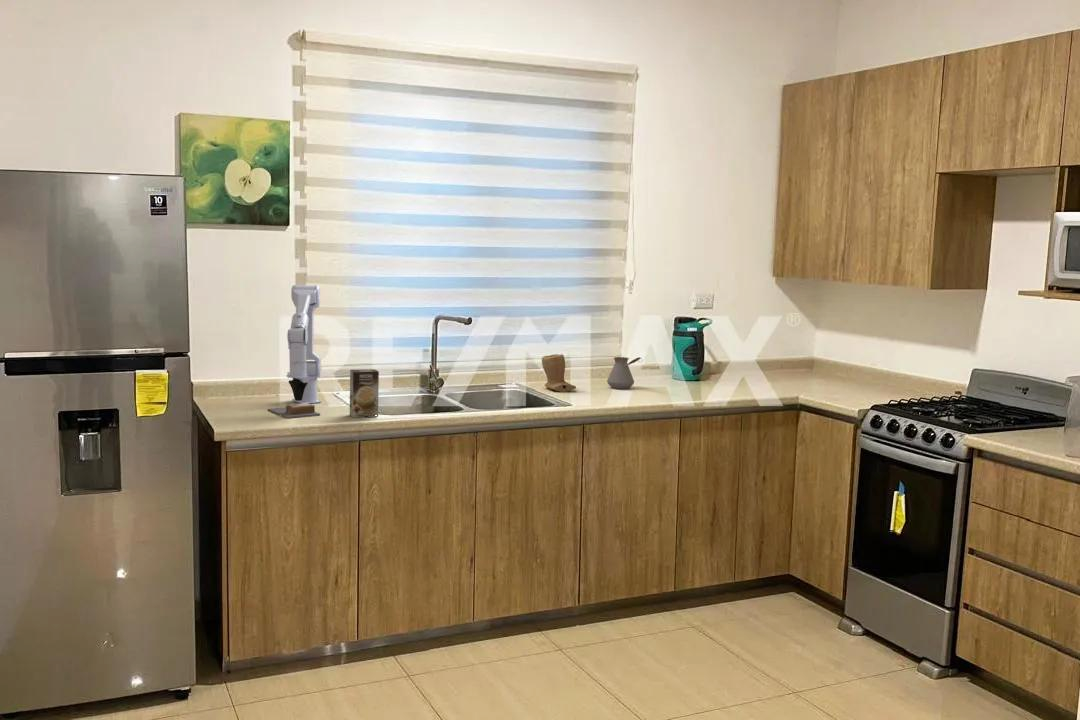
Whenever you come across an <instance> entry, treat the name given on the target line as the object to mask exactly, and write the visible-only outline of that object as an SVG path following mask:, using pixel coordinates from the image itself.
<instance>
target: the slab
mask: <svg viewBox="0 0 1080 720" xmlns="http://www.w3.org/2000/svg"><path fill="white" fill-rule="evenodd" d="M285 407H286V412H287V413H290V414H292V415H296V414H307V413H315V412H316V410H315V405H314V404H312V403H302V404H300V403H293V404H285Z"/></svg>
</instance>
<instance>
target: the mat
mask: <svg viewBox="0 0 1080 720" xmlns="http://www.w3.org/2000/svg"><path fill="white" fill-rule="evenodd" d="M267 411H268V412H270V411H271V412H270V413H273V414H275V413H276V414H275V415H278V416H280V415H281V417H282V416H283V418H285V419H287V418H289V419H296V418H307V417H318V416H321V413H319V412H317V411H315V413H307V414H296V415H292V414H290V413H287V412H286V406H285V407H284V406H283V407H272V408H267Z"/></svg>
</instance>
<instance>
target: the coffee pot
mask: <svg viewBox="0 0 1080 720" xmlns="http://www.w3.org/2000/svg"><path fill="white" fill-rule="evenodd" d="M629 359H630V358H629V357H626V356H616V357H613V360H614V365H613V366H612V369H611V371H610V374H609V375H608V377H607V380H606V382H607V384H608V386H610V387H611V389H614V390H629V389H630V388H631V387H632V386H633V385H634V383H635V379H634V377H633V374H632V373H631V370H630V365H632V364H635V363H636V362H638V363H642V362H643V358H642V357H636V358H634V359H632V360H631V361H629V362H628V360H629ZM640 359H641V361H639V360H640Z"/></svg>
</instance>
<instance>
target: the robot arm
mask: <svg viewBox="0 0 1080 720" xmlns="http://www.w3.org/2000/svg"><path fill="white" fill-rule="evenodd" d="M290 292H291V293H290V294H291V295H290V296H291V297H290V298H291V301H292V304H293V305H294V306H295V308H296V309H295V310H296V312H295V313H294V314H292V317H291V323H290V329H288V330H287V335H286V336H287V344H288V345H287V349H288V350H289V352H288V354H289V371H287V374H286V378H288V379H290V378H291V379H292V380H291V379H290V380H288V384H289V386H290V387H291V390H292V394H293V398H292V401H293V402H296V403H297V404H302V403H309V404H319V403H322V400H319V399H318V398H319V397H318V394H319V393H318V378H320V377H322V358H321V357H320V356H319V355H318V354H316V353H315V352H314V313H315V309H318V308H319V307H320V304H321V288H320V286H319V285H318V284H316V285H305V284H303V285H299V284H297V285H296V284H293V285H292V286H291V291H290Z"/></svg>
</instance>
